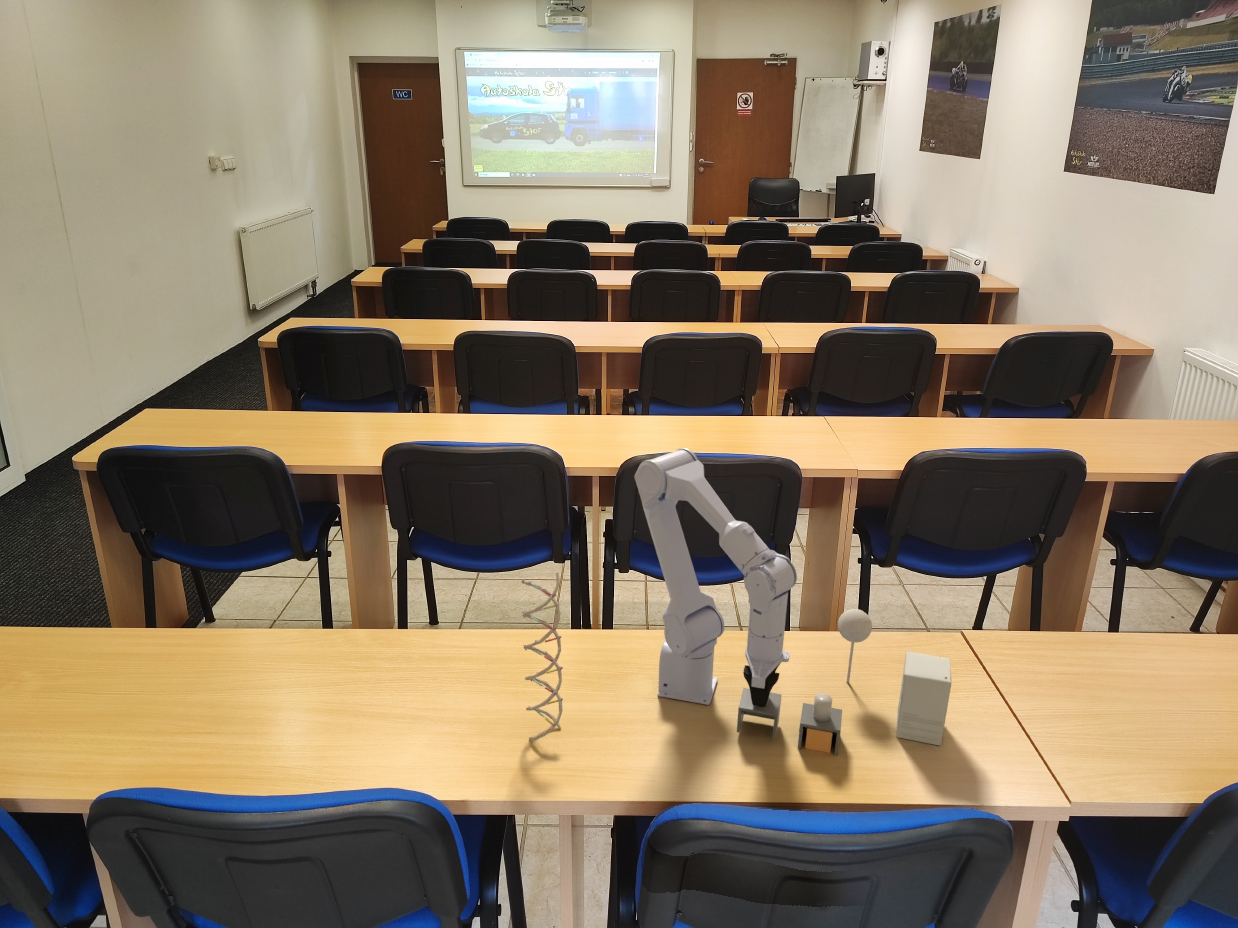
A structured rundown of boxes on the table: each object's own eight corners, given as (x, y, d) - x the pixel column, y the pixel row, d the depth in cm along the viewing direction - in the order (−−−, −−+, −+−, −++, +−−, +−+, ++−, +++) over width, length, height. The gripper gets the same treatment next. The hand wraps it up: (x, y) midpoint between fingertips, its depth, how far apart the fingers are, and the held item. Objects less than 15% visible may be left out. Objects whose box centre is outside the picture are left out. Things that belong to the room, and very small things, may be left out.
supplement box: (941, 720, 152) (952, 657, 147) (941, 747, 145) (952, 683, 140) (896, 710, 154) (905, 649, 149) (894, 737, 147) (904, 673, 143)
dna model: (534, 751, 143) (528, 590, 132) (519, 728, 149) (512, 571, 137) (571, 739, 146) (569, 580, 135) (556, 717, 151) (552, 562, 140)
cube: (805, 748, 145) (807, 728, 143) (807, 732, 148) (809, 713, 147) (830, 752, 144) (832, 732, 142) (831, 737, 147) (833, 717, 146)
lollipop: (865, 694, 158) (875, 622, 152) (831, 690, 159) (840, 618, 153) (863, 674, 164) (872, 604, 158) (831, 670, 165) (839, 600, 159)
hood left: (736, 731, 147) (739, 689, 144) (741, 711, 152) (744, 670, 148) (775, 739, 145) (779, 696, 142) (779, 718, 150) (783, 676, 147)
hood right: (797, 748, 145) (801, 705, 141) (800, 727, 149) (804, 685, 146) (837, 755, 143) (842, 712, 140) (839, 734, 148) (844, 691, 145)
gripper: (787, 657, 134) (779, 730, 139) (795, 609, 147) (789, 677, 152) (740, 650, 136) (735, 722, 141) (753, 602, 148) (748, 670, 154)
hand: (760, 698), depth 146 cm, fingers closed on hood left, 3 cm apart
